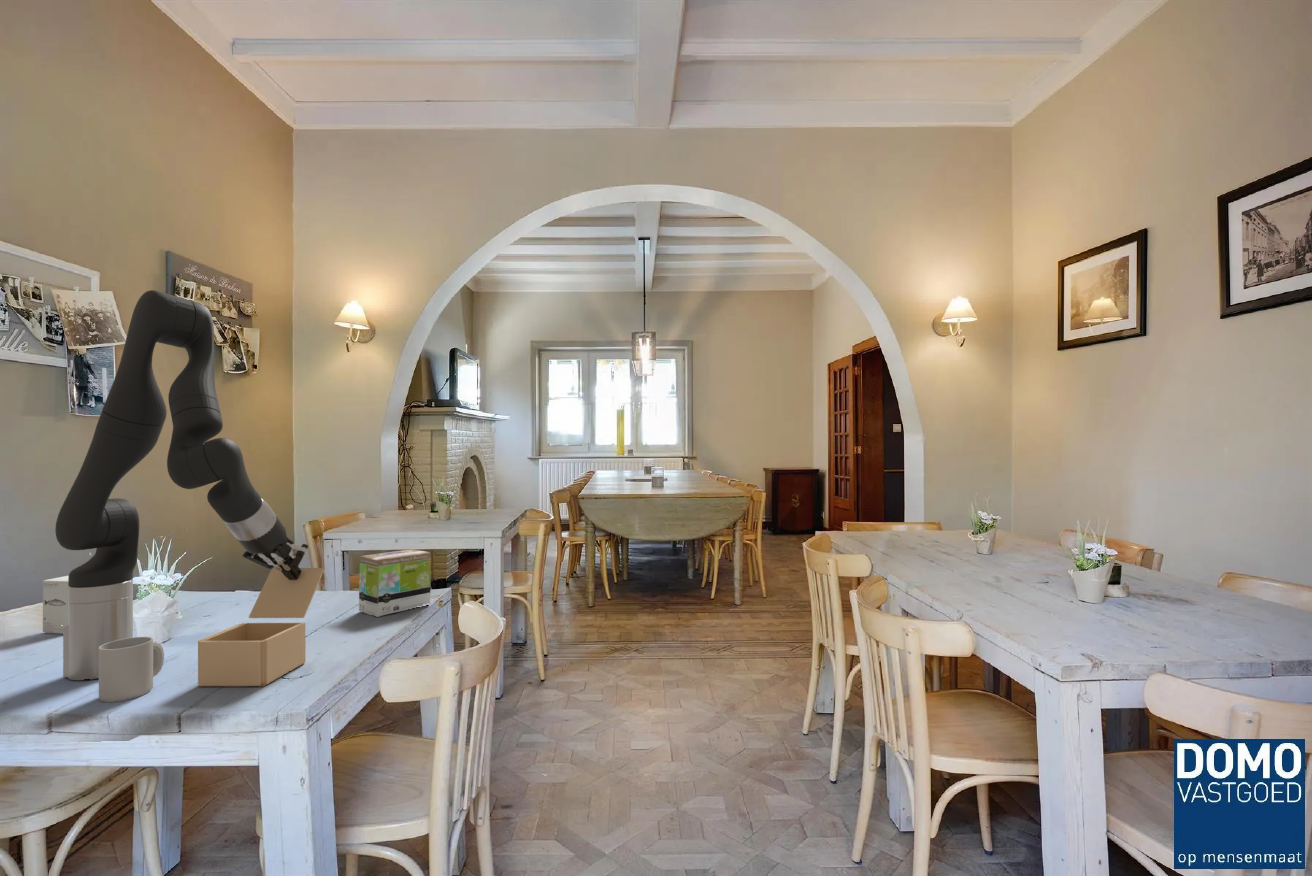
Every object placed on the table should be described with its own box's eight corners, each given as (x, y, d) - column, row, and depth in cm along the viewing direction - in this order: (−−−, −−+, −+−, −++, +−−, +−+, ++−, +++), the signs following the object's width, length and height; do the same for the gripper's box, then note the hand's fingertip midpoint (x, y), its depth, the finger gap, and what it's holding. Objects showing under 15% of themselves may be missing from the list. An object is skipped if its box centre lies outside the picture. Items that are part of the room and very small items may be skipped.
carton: (194, 687, 109) (194, 641, 109) (244, 662, 121) (243, 622, 122) (264, 687, 109) (264, 641, 109) (306, 662, 121) (306, 621, 121)
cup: (87, 701, 104) (87, 648, 104) (146, 679, 113) (146, 631, 114) (121, 704, 102) (121, 650, 102) (178, 681, 112) (178, 633, 112)
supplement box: (41, 633, 144) (41, 580, 144) (75, 624, 151) (75, 573, 151) (66, 635, 142) (67, 580, 143) (100, 625, 150) (100, 574, 150)
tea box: (378, 618, 153) (377, 559, 153) (358, 612, 159) (357, 555, 159) (431, 605, 165) (431, 550, 165) (411, 600, 171) (411, 547, 171)
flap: (248, 617, 122) (272, 568, 129) (249, 618, 122) (273, 569, 129) (303, 617, 121) (323, 567, 129) (304, 617, 122) (324, 568, 129)
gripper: (297, 508, 118) (333, 561, 130) (231, 509, 119) (273, 561, 131) (278, 539, 113) (318, 591, 124) (209, 540, 113) (255, 592, 125)
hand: (295, 576), depth 128 cm, fingers closed
